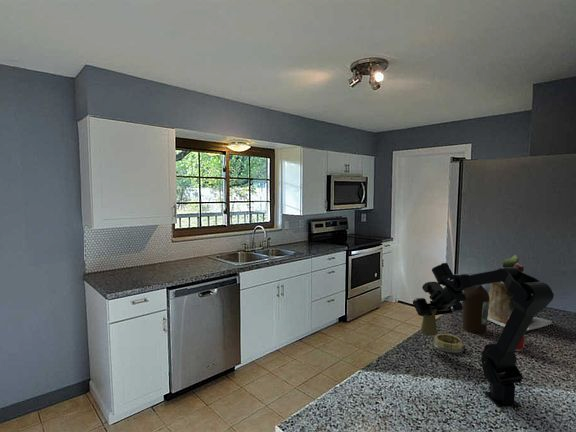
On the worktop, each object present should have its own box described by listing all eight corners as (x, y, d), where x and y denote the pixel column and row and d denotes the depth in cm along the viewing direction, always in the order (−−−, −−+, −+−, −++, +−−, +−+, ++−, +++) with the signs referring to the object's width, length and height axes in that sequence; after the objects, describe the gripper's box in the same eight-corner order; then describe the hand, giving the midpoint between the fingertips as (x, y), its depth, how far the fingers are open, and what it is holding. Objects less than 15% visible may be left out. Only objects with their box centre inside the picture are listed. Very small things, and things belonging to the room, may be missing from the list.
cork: (437, 336, 126) (438, 308, 126) (420, 333, 129) (421, 306, 128) (437, 331, 132) (438, 304, 131) (421, 328, 134) (421, 301, 134)
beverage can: (505, 349, 130) (507, 320, 130) (503, 343, 136) (505, 315, 135) (524, 353, 127) (526, 323, 127) (522, 346, 133) (523, 318, 132)
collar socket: (469, 353, 127) (469, 345, 127) (441, 353, 127) (441, 345, 127) (453, 340, 138) (454, 333, 138) (428, 340, 138) (428, 333, 138)
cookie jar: (470, 315, 167) (473, 253, 165) (501, 308, 177) (504, 250, 175) (522, 334, 145) (526, 263, 142) (553, 325, 155) (558, 258, 153)
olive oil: (457, 329, 150) (460, 275, 148) (465, 323, 157) (468, 271, 155) (483, 336, 142) (486, 280, 140) (490, 330, 149) (493, 275, 148)
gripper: (458, 275, 127) (437, 295, 139) (416, 278, 123) (398, 298, 134) (473, 301, 120) (450, 320, 132) (429, 305, 116) (409, 324, 127)
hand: (427, 314), depth 131 cm, fingers closed on cork, 5 cm apart
